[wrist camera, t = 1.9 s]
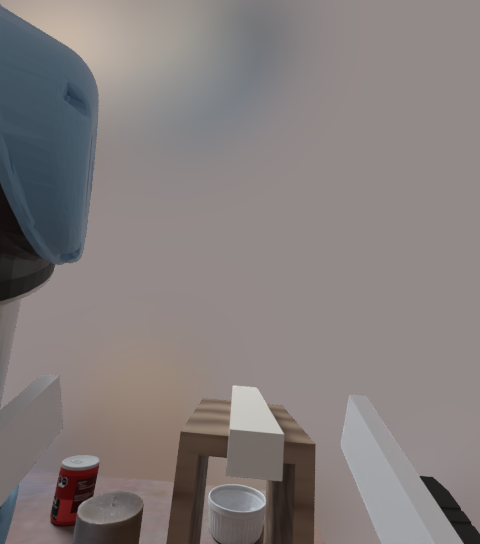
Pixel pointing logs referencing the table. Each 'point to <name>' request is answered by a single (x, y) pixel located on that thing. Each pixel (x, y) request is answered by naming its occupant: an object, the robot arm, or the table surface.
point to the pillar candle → (109, 519)
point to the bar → (253, 438)
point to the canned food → (73, 488)
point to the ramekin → (236, 514)
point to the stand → (279, 494)
